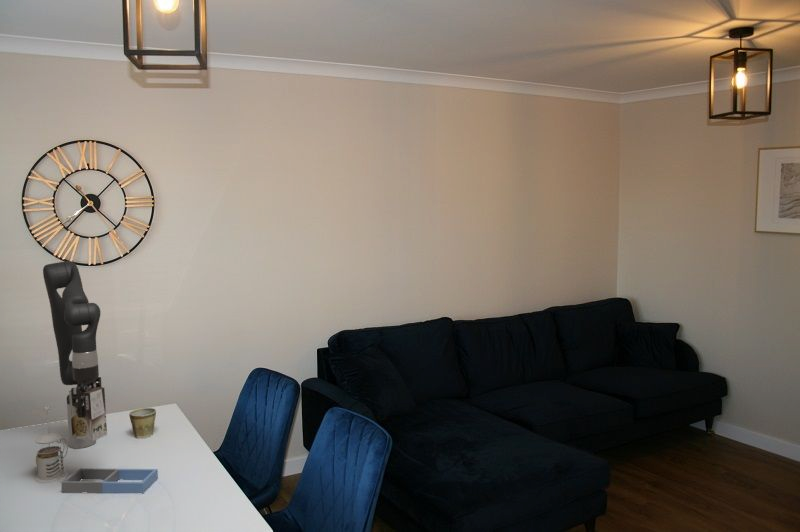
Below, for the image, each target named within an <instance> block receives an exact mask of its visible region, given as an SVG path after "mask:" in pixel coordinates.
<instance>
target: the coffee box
mask: <svg viewBox="0 0 800 532" xmlns="http://www.w3.org/2000/svg"><path fill="white" fill-rule="evenodd" d="M105 393H106V392H105V387H103V386H102V387H95V388H91V390H90V391H88V392H81V396H85V397H86V399H85V405H84V406H85V415H86V416H85V417H84V418H79V417H78V412H77V406H72V396H71V390H69V391H68V395H69V399H70V412H71V425H72V438H75V439H83V440H90V441H94V440H98V439H100V438H103V437H105V436H107V435H108V430H107V429H108V427H107V409H106V394H105ZM76 400H77V399H75V402H76ZM82 400H83V399H81V402H82Z"/></svg>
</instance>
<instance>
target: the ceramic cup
mask: <svg viewBox="0 0 800 532" xmlns="http://www.w3.org/2000/svg"><path fill="white" fill-rule="evenodd" d="M156 413H157V410H156V408H153V407H143V408H136V409H133V410H131V411H130V412H129V415H128V416H129V420H130V423H131V427H132V431H133V435H134V437H135V438H136V439H137V438H144V439H148V438H150V436H151V435H152V436H153V435H154V429H155V422H156V421H155V420H156V416H157V415H156ZM152 436H151V437H152ZM147 437H148V438H147Z"/></svg>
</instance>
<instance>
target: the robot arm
mask: <svg viewBox="0 0 800 532" xmlns="http://www.w3.org/2000/svg"><path fill="white" fill-rule="evenodd" d="M42 274H43V275H42V276H43V279H44V280H43V281H44V285H45V289H46V293H47V297H48V301H49V306H50V313H51V319H52V320H51V321H52V327H53V333H54V337H55V343H56V348H57V354H58V363H59V364H58V366H59V375H60V380H61V383H62V384H63V385H64V386H76V387H71V389H70V391H71V396H72V406H77V412H78V417H79V418H84V417H85V416H86V415H85V406H84V405H85V399H86V397H85V396H81V392H88V391H90V390H91V388H95V387H102V388H103V386H102V377H100V374H99V373H100V372H99V357H98V351H97V330H98V326H99V323H100V318H101V308H100V307H99V305H98V304H97V303H95V302H89V299H88V297H87V295H86V293H85V291H84V288H83V287H84V286H83V284H82V283H83V282H82V279H81V274H80V271H79V268H78V266H77V264H76V263H75V262H74V261H72V260H66V261H60V262H53V263H52V262H51V263H48V264H46V265H44V266H43V269H42ZM59 289H63V291H62V295H60V294H59V292H58V290H59ZM83 326H87V327H86V328H85V329H84V330H83V328H82V327H83ZM71 353H72V356H71ZM70 356H71V360H70ZM75 399H77V400H76V402H75ZM81 399H83V400H82V402H81ZM66 410H67V412H66V414H67V426H68V427H67V428H68V441H69V443H68V446H69V447H70V448H71V449H83V448H88V447H92V446H93V445H95V444H96V442H97V441H96V440H97V439H96V440H94V441H90V440H83V439H75V438H72V425H71V412H70V399H69V394H67V396H66Z"/></svg>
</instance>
